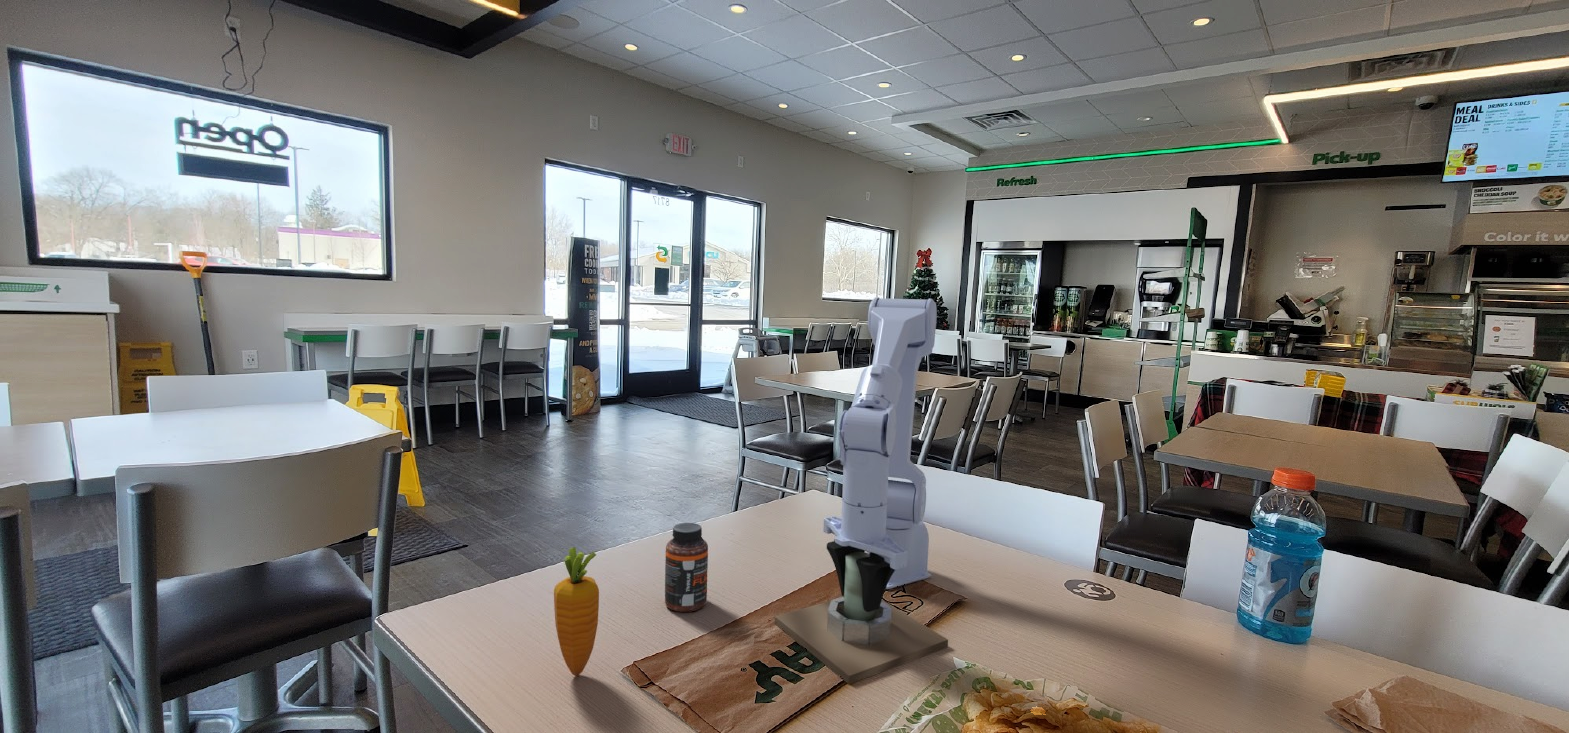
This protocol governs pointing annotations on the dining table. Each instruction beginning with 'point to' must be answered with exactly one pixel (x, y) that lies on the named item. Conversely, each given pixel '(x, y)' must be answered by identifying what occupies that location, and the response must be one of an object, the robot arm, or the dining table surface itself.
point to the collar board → (859, 658)
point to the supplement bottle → (686, 569)
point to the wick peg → (854, 590)
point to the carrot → (576, 612)
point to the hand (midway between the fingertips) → (860, 602)
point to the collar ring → (858, 624)
